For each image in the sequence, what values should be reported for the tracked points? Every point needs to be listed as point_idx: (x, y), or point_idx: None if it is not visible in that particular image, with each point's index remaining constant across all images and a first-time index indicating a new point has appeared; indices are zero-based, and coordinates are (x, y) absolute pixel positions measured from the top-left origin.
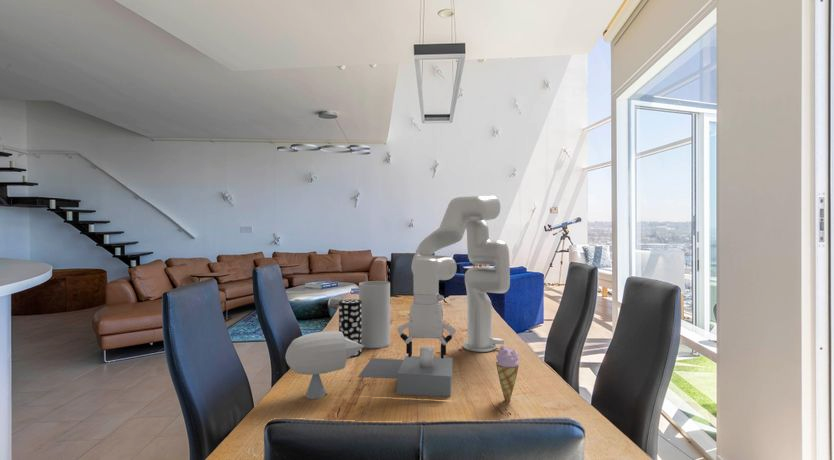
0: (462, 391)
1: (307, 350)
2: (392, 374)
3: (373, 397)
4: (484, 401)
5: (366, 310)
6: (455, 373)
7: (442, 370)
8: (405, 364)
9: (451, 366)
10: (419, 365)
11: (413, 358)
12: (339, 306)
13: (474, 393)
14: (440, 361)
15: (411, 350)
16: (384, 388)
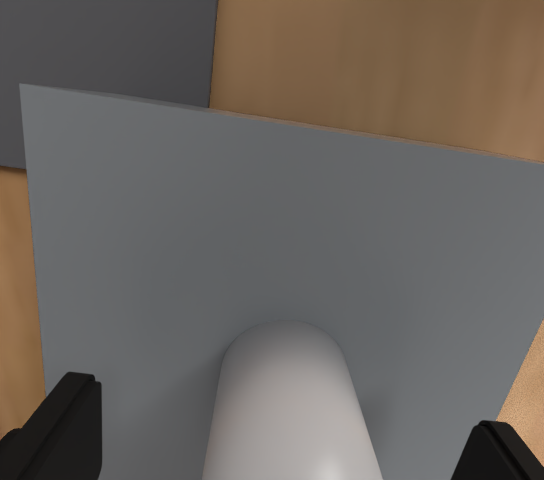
0: None
1: None
2: (14, 87)
3: (4, 408)
4: (538, 453)
5: None
6: (533, 46)
7: (404, 464)
8: (82, 358)
9: (505, 395)
10: (218, 377)
11: (141, 192)
12: None
13: (528, 378)
14: (438, 279)
15: (68, 478)
16: (28, 308)
